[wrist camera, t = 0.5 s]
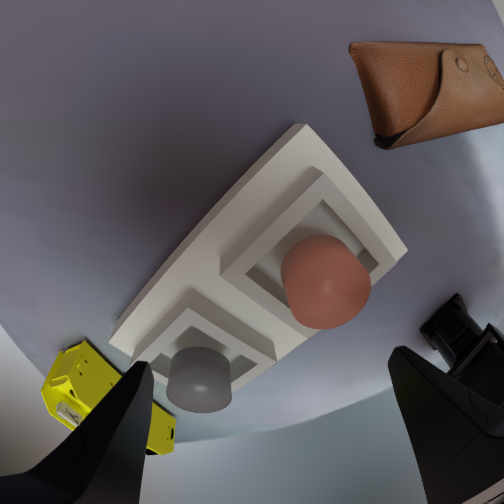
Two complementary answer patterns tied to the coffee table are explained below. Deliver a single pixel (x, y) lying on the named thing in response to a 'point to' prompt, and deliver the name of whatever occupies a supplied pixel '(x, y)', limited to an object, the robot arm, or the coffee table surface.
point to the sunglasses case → (427, 89)
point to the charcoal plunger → (199, 380)
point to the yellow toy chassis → (95, 394)
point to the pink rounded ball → (324, 282)
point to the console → (254, 262)
